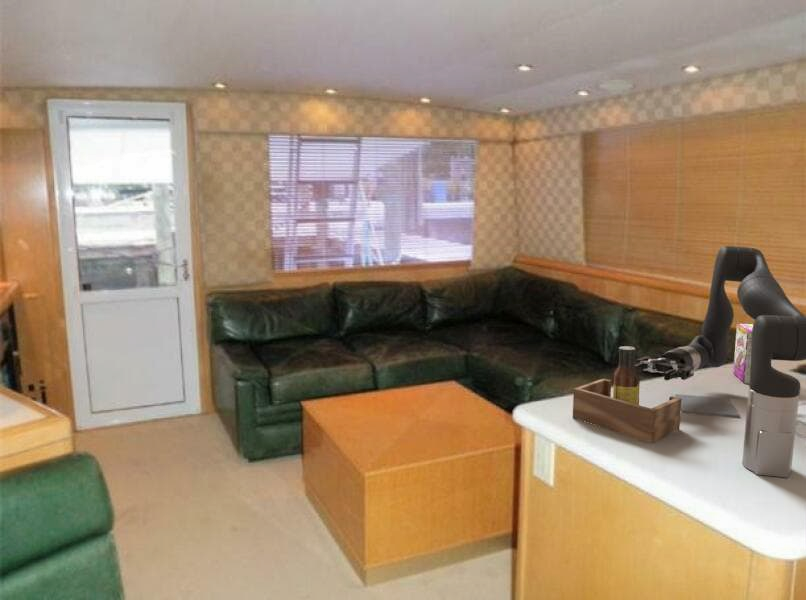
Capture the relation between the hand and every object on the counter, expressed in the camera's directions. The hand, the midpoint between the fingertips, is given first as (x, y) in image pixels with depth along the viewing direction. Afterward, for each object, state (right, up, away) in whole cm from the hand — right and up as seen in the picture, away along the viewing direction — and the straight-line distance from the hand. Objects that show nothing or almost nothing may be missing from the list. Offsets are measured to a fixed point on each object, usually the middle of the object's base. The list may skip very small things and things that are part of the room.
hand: (650, 372), depth 169 cm
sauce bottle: (-8, -13, -5) cm, 16 cm away
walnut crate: (-9, -12, -5) cm, 16 cm away
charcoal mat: (+18, -10, +7) cm, 22 cm away
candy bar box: (+42, -6, +31) cm, 52 cm away
